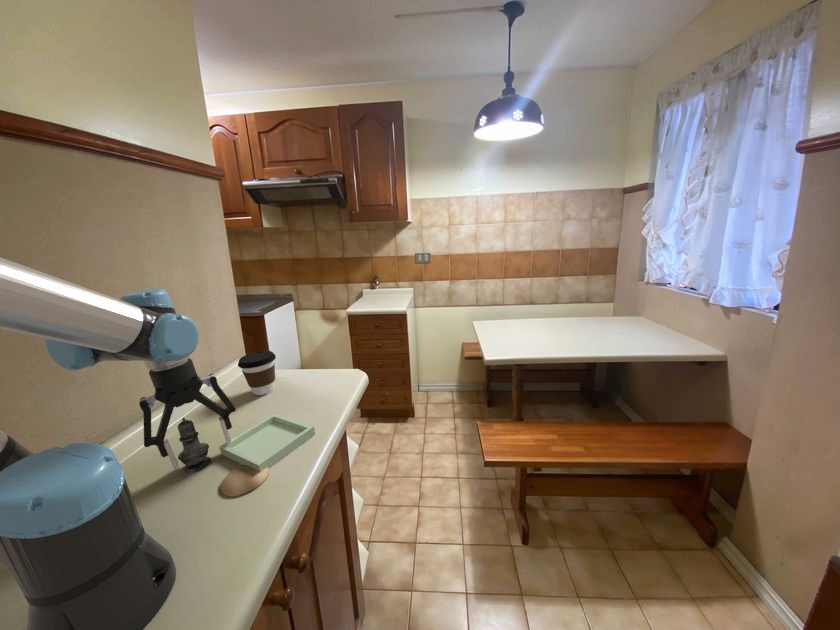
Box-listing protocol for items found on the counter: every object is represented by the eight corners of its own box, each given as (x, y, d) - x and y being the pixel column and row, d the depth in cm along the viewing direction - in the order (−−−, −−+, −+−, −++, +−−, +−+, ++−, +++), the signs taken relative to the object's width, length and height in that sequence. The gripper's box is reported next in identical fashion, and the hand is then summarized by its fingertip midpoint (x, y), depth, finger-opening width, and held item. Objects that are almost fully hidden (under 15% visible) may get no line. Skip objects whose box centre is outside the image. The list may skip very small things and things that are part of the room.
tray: (260, 473, 72) (258, 465, 71) (221, 454, 79) (219, 446, 79) (315, 434, 84) (313, 426, 83) (276, 420, 91) (274, 413, 91)
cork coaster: (237, 502, 64) (237, 500, 64) (211, 487, 69) (211, 485, 69) (278, 471, 72) (277, 469, 71) (252, 459, 76) (251, 458, 76)
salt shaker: (198, 475, 73) (182, 426, 70) (175, 473, 74) (159, 425, 71) (218, 456, 78) (205, 410, 75) (197, 455, 80) (183, 410, 77)
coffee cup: (251, 386, 114) (243, 352, 111) (285, 380, 116) (278, 347, 113) (240, 402, 104) (231, 365, 100) (278, 396, 105) (270, 360, 102)
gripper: (96, 391, 61) (141, 491, 67) (232, 349, 74) (259, 436, 80) (100, 379, 67) (141, 471, 73) (226, 342, 80) (251, 423, 86)
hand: (203, 453), depth 77 cm, fingers open, 10 cm apart
